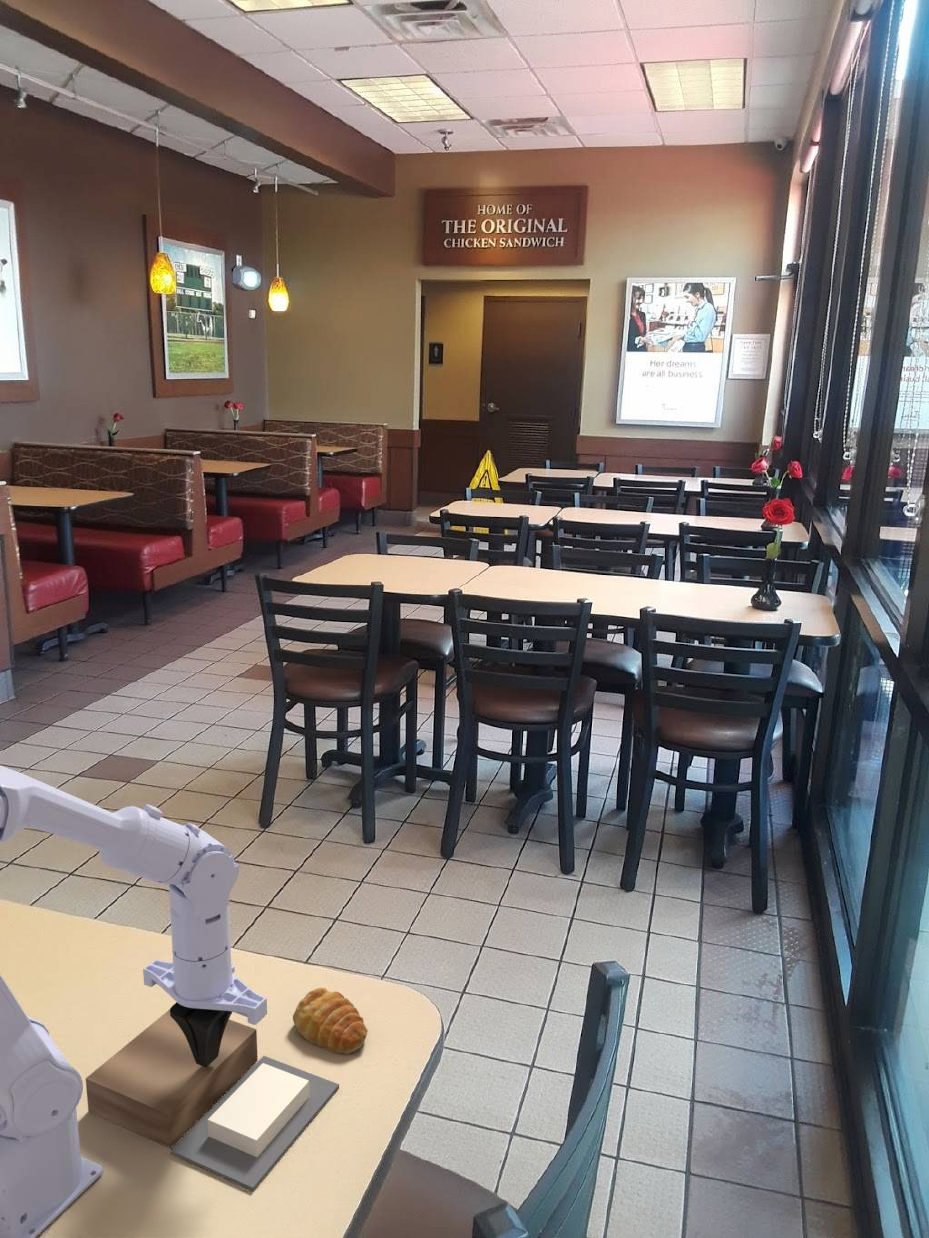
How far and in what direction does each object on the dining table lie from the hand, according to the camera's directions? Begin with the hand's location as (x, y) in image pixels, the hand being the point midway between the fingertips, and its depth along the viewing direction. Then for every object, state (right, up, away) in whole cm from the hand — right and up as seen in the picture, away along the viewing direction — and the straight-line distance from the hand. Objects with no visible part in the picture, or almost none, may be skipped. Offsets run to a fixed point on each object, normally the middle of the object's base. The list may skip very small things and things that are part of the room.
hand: (207, 1059), depth 97 cm
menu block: (+6, -3, -2) cm, 7 cm away
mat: (+6, -5, -1) cm, 8 cm away
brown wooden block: (-4, -4, +3) cm, 7 cm away
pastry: (+11, -3, +13) cm, 17 cm away
